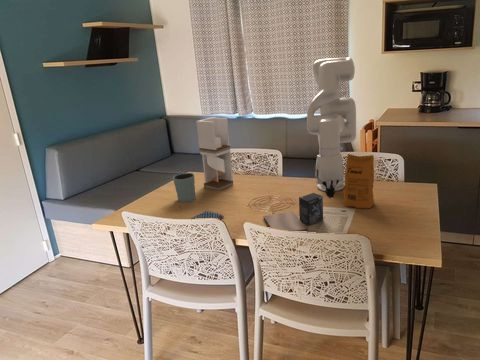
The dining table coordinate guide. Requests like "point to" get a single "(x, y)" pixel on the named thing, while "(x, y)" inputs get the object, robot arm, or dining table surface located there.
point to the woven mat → (209, 215)
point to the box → (311, 208)
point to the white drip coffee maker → (215, 152)
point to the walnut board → (285, 222)
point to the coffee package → (359, 181)
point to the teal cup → (185, 187)
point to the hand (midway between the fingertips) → (330, 196)
